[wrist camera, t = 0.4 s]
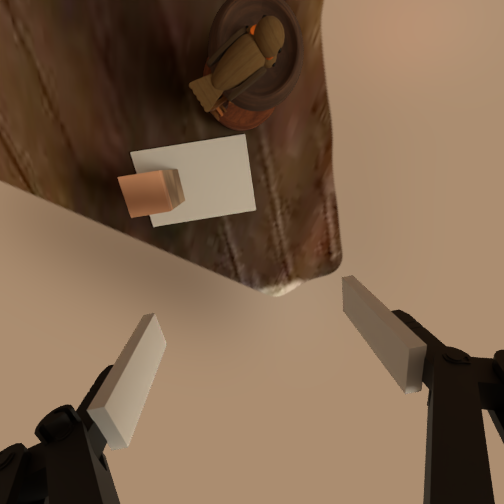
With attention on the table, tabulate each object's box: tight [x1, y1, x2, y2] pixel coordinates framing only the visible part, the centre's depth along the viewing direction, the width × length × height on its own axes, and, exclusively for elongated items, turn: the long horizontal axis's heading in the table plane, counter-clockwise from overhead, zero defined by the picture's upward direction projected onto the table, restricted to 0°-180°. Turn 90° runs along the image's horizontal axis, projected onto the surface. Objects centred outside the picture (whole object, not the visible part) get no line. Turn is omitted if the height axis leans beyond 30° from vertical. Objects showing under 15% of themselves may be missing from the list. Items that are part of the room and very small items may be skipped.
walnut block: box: [117, 169, 185, 218], centre depth 34 cm, size 5×5×10 cm
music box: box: [189, 0, 303, 131], centre depth 25 cm, size 15×11×20 cm
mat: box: [130, 134, 256, 227], centre depth 38 cm, size 12×18×1 cm, turn 99°
